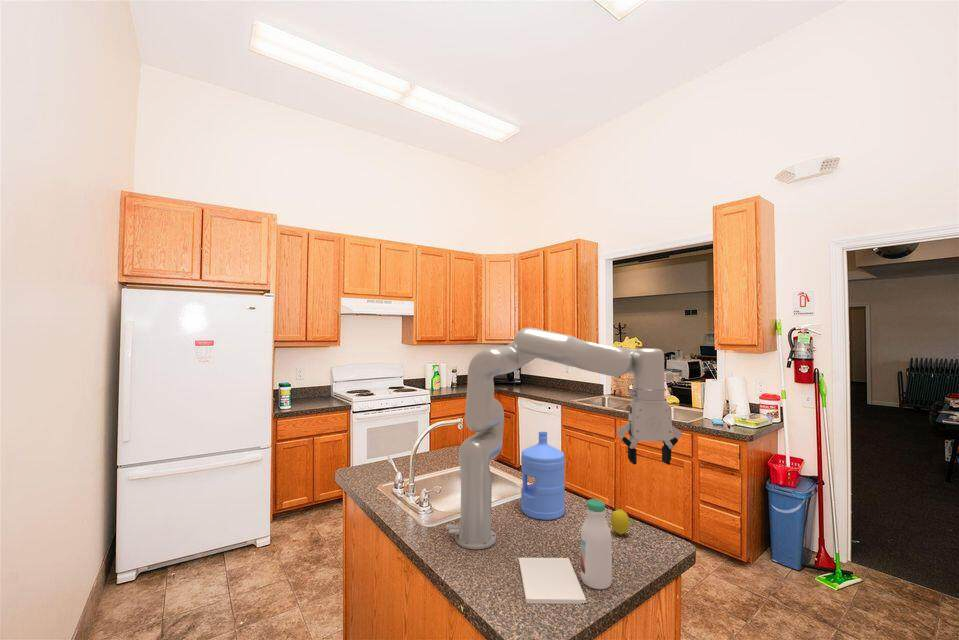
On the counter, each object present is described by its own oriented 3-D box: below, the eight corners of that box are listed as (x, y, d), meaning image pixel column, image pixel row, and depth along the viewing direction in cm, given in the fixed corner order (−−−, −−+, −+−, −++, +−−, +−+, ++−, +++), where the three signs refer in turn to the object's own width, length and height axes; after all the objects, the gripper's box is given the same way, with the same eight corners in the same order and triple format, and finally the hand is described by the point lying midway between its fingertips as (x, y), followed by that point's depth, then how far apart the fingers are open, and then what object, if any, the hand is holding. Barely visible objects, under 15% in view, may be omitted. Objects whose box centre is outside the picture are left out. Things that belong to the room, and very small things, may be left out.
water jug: (563, 504, 153) (563, 428, 154) (566, 522, 137) (566, 438, 139) (521, 501, 155) (522, 427, 156) (519, 519, 140) (520, 436, 141)
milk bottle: (616, 580, 105) (616, 501, 106) (603, 594, 99) (603, 510, 100) (589, 569, 110) (589, 493, 111) (575, 581, 104) (575, 502, 105)
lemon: (621, 529, 133) (621, 504, 133) (633, 537, 128) (633, 511, 128) (607, 532, 131) (607, 506, 131) (619, 540, 126) (618, 513, 126)
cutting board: (526, 603, 95) (526, 599, 95) (518, 561, 113) (518, 557, 113) (585, 604, 95) (585, 599, 95) (568, 561, 113) (568, 558, 113)
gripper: (620, 397, 103) (621, 467, 102) (689, 397, 103) (690, 467, 102) (611, 393, 110) (611, 458, 110) (674, 393, 110) (675, 459, 110)
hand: (649, 462), depth 106 cm, fingers open, 8 cm apart
